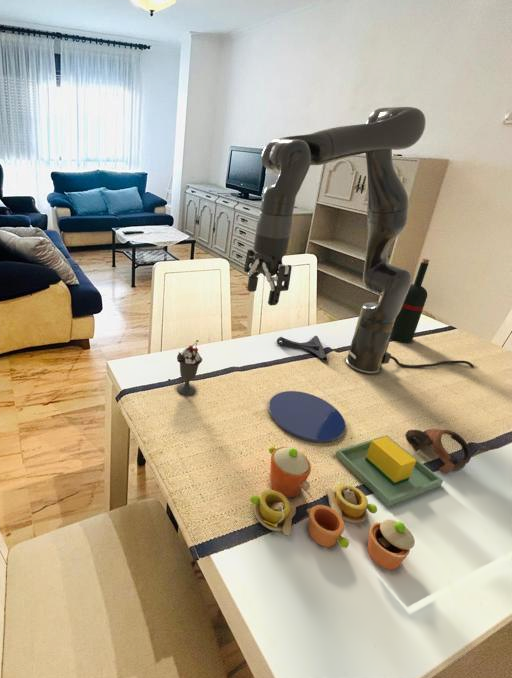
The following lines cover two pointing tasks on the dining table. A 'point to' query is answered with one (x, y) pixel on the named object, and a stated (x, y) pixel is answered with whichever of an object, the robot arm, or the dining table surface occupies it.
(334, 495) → the toy tea set
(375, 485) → the dish
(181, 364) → the sundae
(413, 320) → the wine bottle
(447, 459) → the pottery mug
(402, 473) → the sponge
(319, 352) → the bracket
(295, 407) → the plate
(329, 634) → the dining table surface
